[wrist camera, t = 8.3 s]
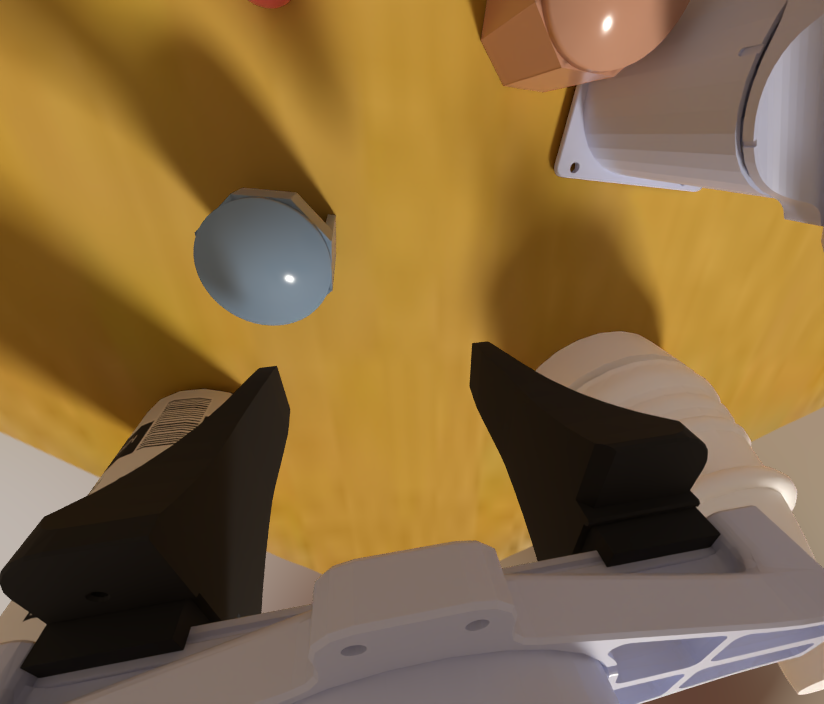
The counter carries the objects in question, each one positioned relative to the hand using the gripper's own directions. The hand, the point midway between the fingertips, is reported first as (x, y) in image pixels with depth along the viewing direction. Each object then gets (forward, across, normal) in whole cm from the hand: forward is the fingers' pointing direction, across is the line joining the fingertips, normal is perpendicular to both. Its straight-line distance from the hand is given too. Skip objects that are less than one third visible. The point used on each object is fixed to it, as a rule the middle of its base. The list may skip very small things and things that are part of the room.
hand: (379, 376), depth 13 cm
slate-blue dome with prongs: (+9, +4, -3) cm, 11 cm away
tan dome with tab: (+9, -9, -12) cm, 17 cm away
